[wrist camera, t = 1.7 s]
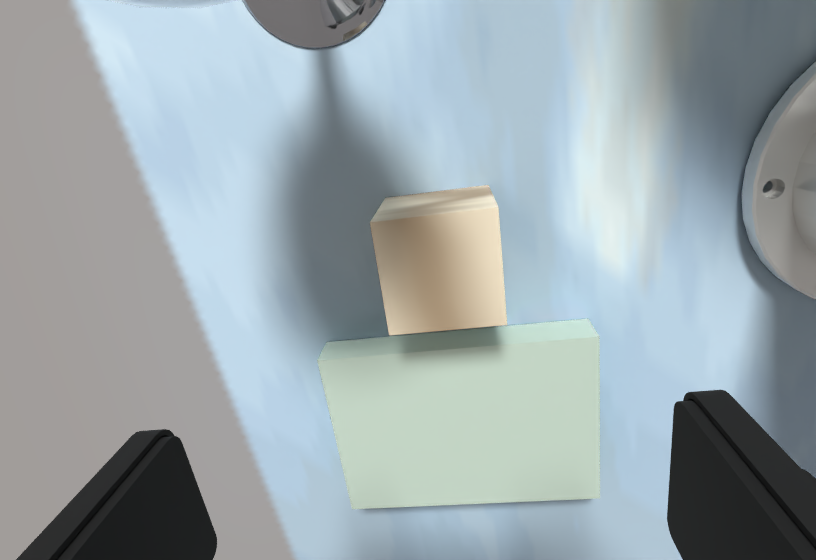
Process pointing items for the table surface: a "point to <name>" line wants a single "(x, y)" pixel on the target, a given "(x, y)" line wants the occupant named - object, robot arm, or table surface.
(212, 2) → the wine glass
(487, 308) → the birch cube
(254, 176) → the table surface
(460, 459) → the sage board
